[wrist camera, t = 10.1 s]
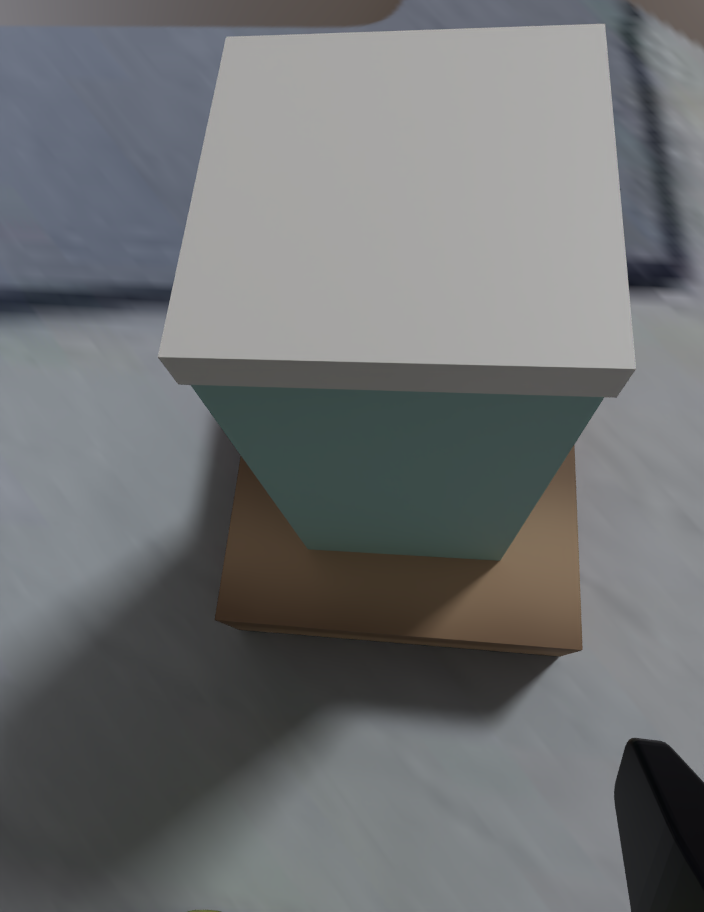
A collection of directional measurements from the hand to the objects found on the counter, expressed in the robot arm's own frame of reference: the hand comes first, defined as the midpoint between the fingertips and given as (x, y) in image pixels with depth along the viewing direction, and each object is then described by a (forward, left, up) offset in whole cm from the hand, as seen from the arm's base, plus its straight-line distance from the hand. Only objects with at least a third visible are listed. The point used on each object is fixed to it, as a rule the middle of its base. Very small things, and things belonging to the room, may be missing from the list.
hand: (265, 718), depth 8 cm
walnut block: (+7, -2, -14) cm, 16 cm away
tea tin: (+7, -2, -11) cm, 13 cm away
